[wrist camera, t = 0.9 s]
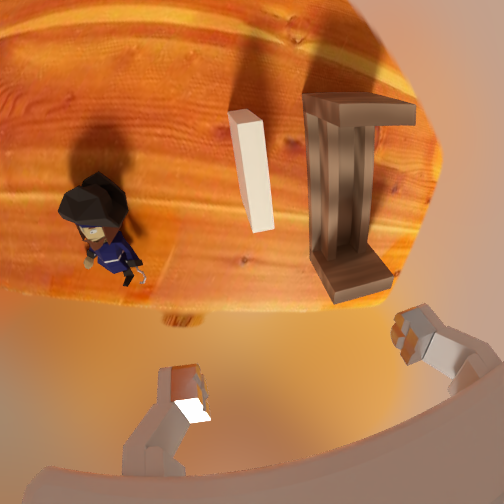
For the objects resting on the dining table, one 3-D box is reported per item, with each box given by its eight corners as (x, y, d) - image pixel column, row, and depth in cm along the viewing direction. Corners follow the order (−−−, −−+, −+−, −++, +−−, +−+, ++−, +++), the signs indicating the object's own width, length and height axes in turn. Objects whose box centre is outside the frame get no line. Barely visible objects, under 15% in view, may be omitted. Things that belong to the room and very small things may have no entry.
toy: (87, 283, 34) (37, 198, 22) (107, 247, 38) (71, 160, 27) (146, 299, 33) (105, 206, 22) (163, 258, 37) (138, 162, 26)
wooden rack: (301, 93, 27) (339, 103, 20) (366, 92, 27) (416, 104, 20) (309, 259, 40) (333, 304, 33) (360, 247, 40) (390, 288, 33)
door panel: (227, 111, 27) (236, 124, 21) (246, 108, 27) (262, 120, 21) (241, 197, 33) (253, 233, 27) (258, 193, 33) (274, 228, 27)
